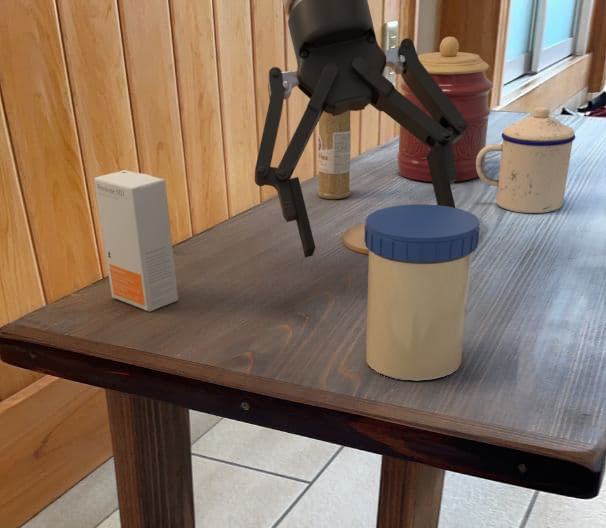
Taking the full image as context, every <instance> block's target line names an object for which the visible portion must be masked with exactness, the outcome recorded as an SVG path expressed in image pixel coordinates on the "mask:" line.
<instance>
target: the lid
mask: <svg viewBox="0 0 606 528" xmlns="http://www.w3.org/2000/svg"><path fill="white" fill-rule="evenodd" d="M365 223H366V226H365V237H364V242H365V244H366V247H367V248H368V249H369V250H370V251H371V252H373V253H375V254H377V255H379V256H382V257H386V258H390V259H394V260H400V261H408V262H440V261H448V260H453V259H458V258H461V257H464V256H467V255H469V254H471V253H472V252H473V253H474V252H475V251H476V249H478V244H479V239H480V230H481V229H480V219H479V218H478V216H476V215H475V214H473V213H471V212H470V211H467V210H464V209H461V208H457V207H455V208H453V207H448V206H440V205H437V204H428V203H427V204H423V203H419V204H415V203H414V204H401V205H400V204H399V205H393V206H388V207H383V208H380V209H377V210H375V211H372V212H371V213H370V214H368V215H367V217H366V219H365ZM473 253H472V254H473Z"/></svg>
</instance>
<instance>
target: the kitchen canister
mask: <svg viewBox="0 0 606 528" xmlns="http://www.w3.org/2000/svg"><path fill="white" fill-rule="evenodd" d="M459 49H460V45H459V41H458V39H457V38H455V37H454V36H446V37H444V38H443V39H442V40H441V42H440V44H439V51H438V52H437V51H436V52H435V51H434V52H426V53H421V54H419V55H418V58H419V61H420V62H421V64H422V65H423V66H424V67H425V69H426V70H427V71H428V73H429V74H430V75H431V76H432V78H433V79H434V80H435V81H436V83H437V84H438V85H439V87H440V88H441V89H442V90H443V92H444V93H445V94H446V96H447V97H448V98H449V99H450V101H451V102H452V103H453V104H454V106H455V107H456V108H457V110H458V111H459V112H460V113H461V115H462V116H463V117H464V119H465V120H466V121H467V123H468V127H467V129H466V131H465V133H464V134H463V136H462V137H461V139H460V140H459V141H458V142H455V143H453V144H452V151H453V155H454V159H455V164H456V168H457V172H458V173H457V179H456V180H455V182H456V183H457V182H464V181H469V180H473V179H477V178H478V177H479V175H478V173H477V169H476V159H477V156H478V153H479V152H480V151H481V150H482V149H483V148H484V147H486V146H487V138H488V137H487V136H488V126H489V116H490V114H491V109H490V107H489V93H490V91H491V90H492V89H493V88H494V84H493V82H492V81H491V80H490V79H488V78H487V75H486V71H487V70H489V68H490V65H489V64H488V63H487V62H485V60H483V59H482V58H481V56H480V55H479V54H477V53H471V52H461V51H459ZM400 88H401V90H402V91H403V96H405V97H406V98H407V99H409V100H410V101H411V102H412V103H414V104H415V105H416V106H417V107H419V108H420V109H421V110H422V111H424V112H425V113H426V114H427V115H429V116H430V117H431V118H432V116H431V115H430V114H429V113H428V111H427V110H426V109H425V107H424V106H423V105H422V104H421V102H420V101H419V100H418V99H417V97H416V96H415V95H414V93H413V92H412V91H411V90H410V88H409V87H408V86H407V84H406V83H405V81H404V80H403V81H401V83H400ZM398 135H399V139H398V152H397V155H396V156H397V160H396V163H397V168H398V169H397V170H398V171H397V172H398V173H399V175H401V176H403V177H405V178H407V179H411V180H415V181H421V182H427V183H429V182H430V183H432V179H431V174H430V170H429V166H428V161H427V156H428V154H429V153H430V151H431V149H430V148H429V147H428V146H427V145H425V144H424V143H423V142H422V141H420V140H419V139H418V138H416V137H415V136H414V135H413V134H411V133H410V132H409V131H408V130H406V129H405V128H404V127H402V126H401V125H400V124H399V134H398ZM486 157H487V156H486V154H485V155H484V156H483V158H482V160H481V168H482V171H483V170H484V167H485V165H486ZM483 172H484V171H483ZM455 182H454V183H455Z"/></svg>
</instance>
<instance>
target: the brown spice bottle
mask: <svg viewBox="0 0 606 528" xmlns="http://www.w3.org/2000/svg"><path fill="white" fill-rule="evenodd" d="M351 114H352V113H351V111H346V112H344V113H342V114H341V115H336V116H332V114H329V113H326V112H324V111H323V113H322V115H321V117H320V119H319V121H318V134H317V135H318V139H317V141H318V146H317V147H318V153H317V154H318V160H317V163H318V165H317V167H318V169H317V170H318V190H317V195H318V197H320V198H322V199H325V200H339V199H344V198H348V197H349V196H350V194H351V190H350V171H351V146H352V145H351V142H352V141H351V135H352V131H351Z"/></svg>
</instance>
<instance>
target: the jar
mask: <svg viewBox="0 0 606 528" xmlns="http://www.w3.org/2000/svg"><path fill="white" fill-rule="evenodd" d="M473 253H474V251H473V252H472V253H471V254H469V255H467V256H464V257H461V258H458V259H453V260H448V261H440V262H408V261H400V260H394V259H390V258H386V257H382V256H379V255H377V254H375V253H373V252H371V251H370V250H369V255H368V261H367V262H368V263H367V264H368V266H367V299H366V300H367V302H366V331H365V332H366V333H365V334H366V336H365V337H366V338H365V339H366V340H365V363H366V362H367V363H368V365H369V366H370V367H371V368H372V369H374V370H376V371H377V372H379V373H382V374H385V375H388V376H392V377H397V378H405V379H422V378H423V379H424V378H431V377H438V376H442V375H446V374H449V373H451V372H453V371H455V370H456V369H457V368H459V366H460V365H461V366H462V362H463V353H464V342H465V330H466V323H467V322H466V321H467V312H468V301H469V292H470V282H471V281H470V280H471V272H472V263H473ZM367 363H366V364H367ZM368 365H367V366H368ZM461 366H460V367H461ZM459 369H460V368H459Z"/></svg>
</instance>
